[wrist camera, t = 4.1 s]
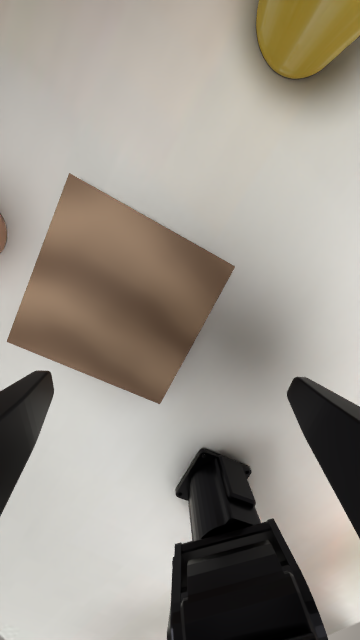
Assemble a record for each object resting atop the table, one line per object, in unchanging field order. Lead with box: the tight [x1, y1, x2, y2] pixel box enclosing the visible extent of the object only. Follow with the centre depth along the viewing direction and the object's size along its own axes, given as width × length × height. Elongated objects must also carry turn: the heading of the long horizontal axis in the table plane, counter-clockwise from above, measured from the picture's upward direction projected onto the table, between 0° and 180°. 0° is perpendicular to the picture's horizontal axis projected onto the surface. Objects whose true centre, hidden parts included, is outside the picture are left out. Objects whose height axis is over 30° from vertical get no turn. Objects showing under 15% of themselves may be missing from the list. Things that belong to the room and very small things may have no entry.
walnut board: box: [7, 173, 235, 404], centre depth 18 cm, size 14×14×2 cm
